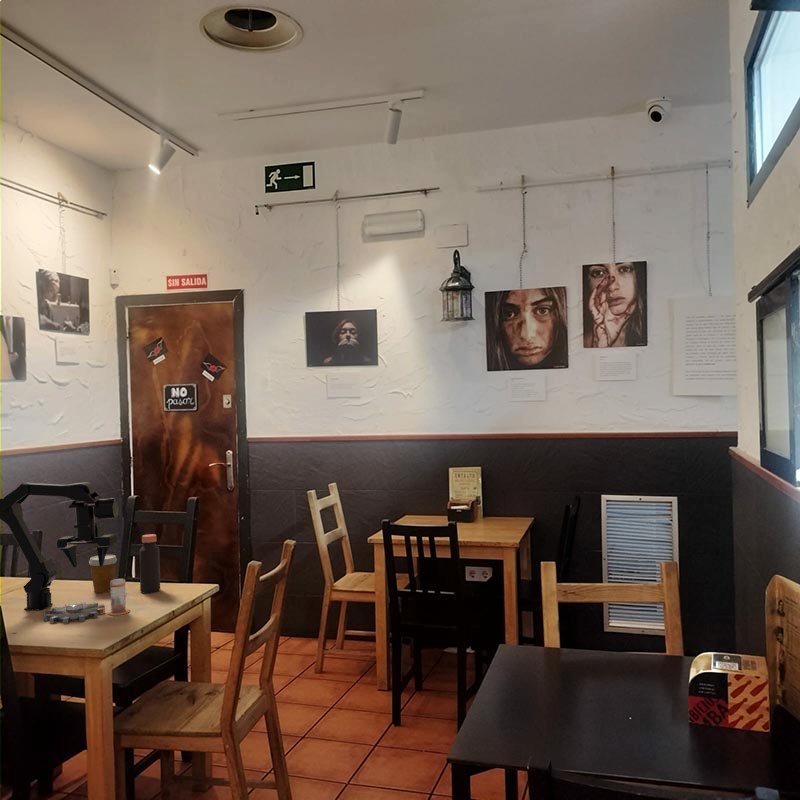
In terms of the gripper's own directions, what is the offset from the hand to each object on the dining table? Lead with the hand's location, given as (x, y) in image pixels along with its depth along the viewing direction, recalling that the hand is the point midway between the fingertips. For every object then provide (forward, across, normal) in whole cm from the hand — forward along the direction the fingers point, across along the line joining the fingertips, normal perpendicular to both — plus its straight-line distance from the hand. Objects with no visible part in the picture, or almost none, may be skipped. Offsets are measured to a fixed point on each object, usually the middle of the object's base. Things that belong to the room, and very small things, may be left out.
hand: (88, 566), depth 242 cm
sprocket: (+13, 0, +10) cm, 17 cm away
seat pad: (+14, -14, +7) cm, 20 cm away
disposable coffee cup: (+13, +6, -20) cm, 25 cm away
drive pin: (+13, -13, +7) cm, 20 cm away
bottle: (+14, -12, -19) cm, 26 cm away
